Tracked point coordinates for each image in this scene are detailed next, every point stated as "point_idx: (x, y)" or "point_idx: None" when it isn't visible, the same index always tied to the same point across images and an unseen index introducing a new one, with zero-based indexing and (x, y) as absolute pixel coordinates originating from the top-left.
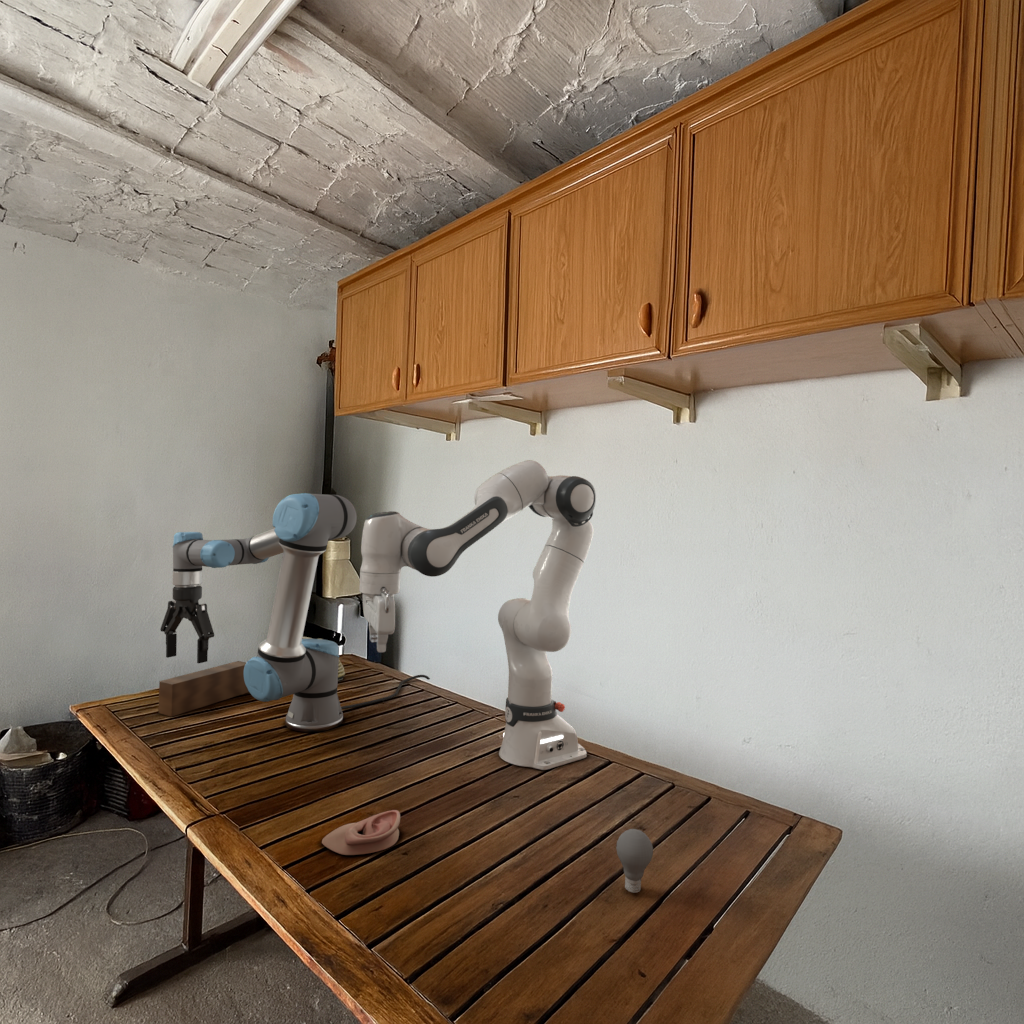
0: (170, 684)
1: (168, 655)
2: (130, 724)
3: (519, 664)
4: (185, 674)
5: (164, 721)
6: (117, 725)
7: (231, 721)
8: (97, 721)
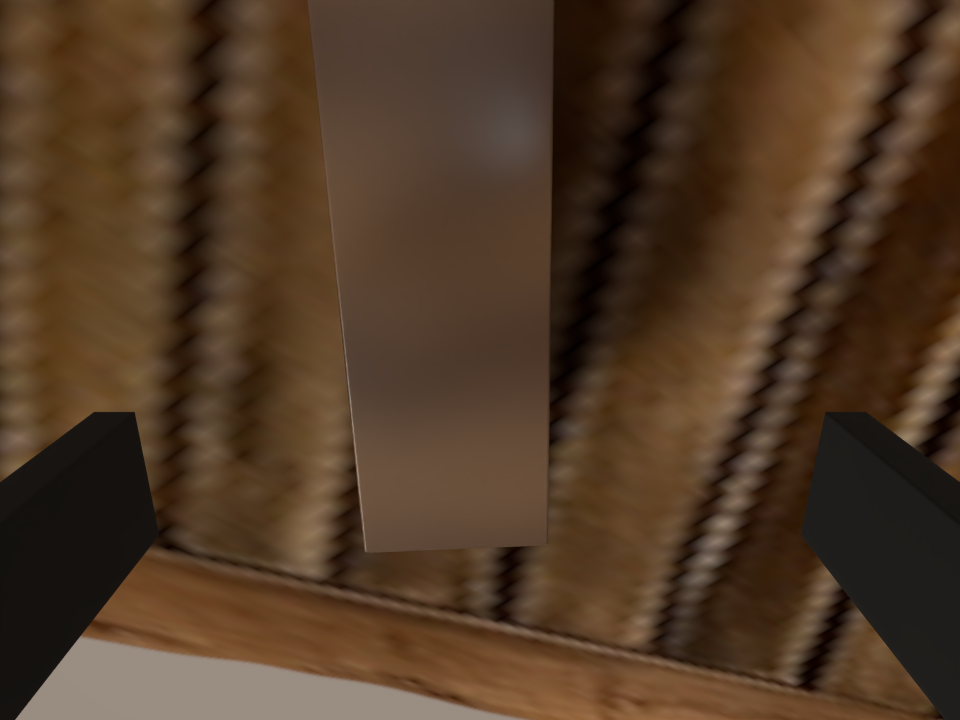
0: (519, 543)
1: (142, 543)
2: (445, 594)
3: None
4: (341, 291)
5: (555, 480)
6: (406, 632)
7: (917, 263)
8: (265, 653)
